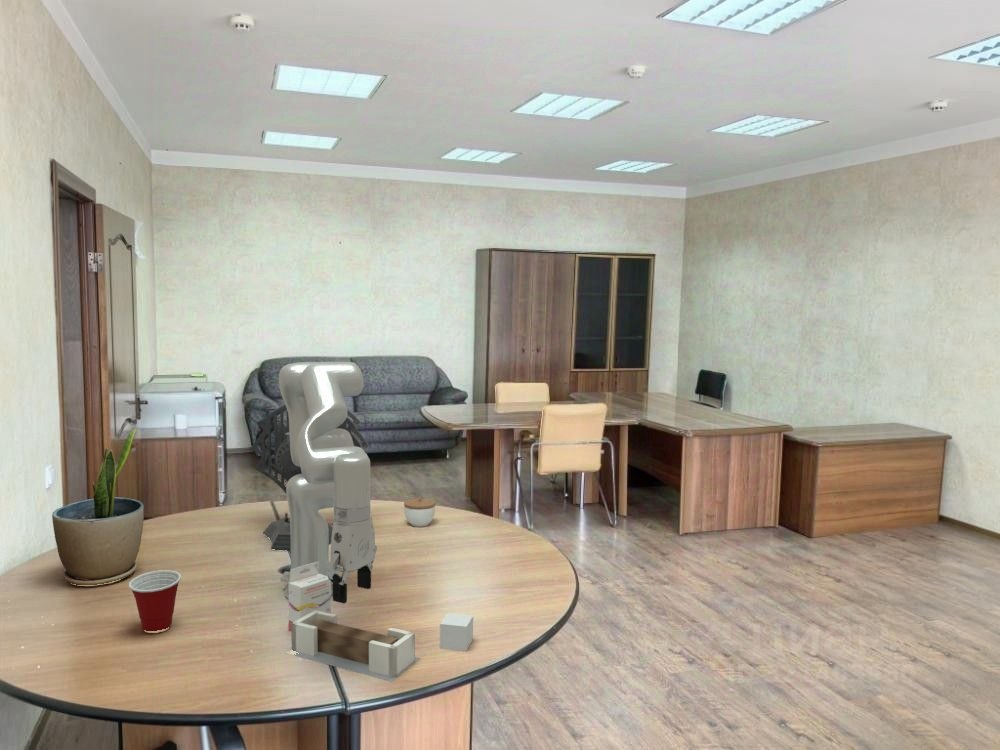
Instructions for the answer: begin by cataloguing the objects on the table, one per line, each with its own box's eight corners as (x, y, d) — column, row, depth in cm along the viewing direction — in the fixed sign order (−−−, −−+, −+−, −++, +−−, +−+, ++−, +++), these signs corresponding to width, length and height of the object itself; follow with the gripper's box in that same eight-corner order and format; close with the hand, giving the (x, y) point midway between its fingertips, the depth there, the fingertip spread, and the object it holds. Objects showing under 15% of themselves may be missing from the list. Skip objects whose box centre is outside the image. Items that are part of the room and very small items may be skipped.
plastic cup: (119, 637, 165) (117, 585, 164) (148, 617, 176) (147, 568, 175) (164, 641, 164) (163, 588, 163) (191, 621, 174) (190, 571, 173)
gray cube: (439, 650, 162) (439, 623, 161) (447, 638, 168) (447, 612, 167) (466, 653, 161) (466, 626, 160) (473, 641, 166) (473, 615, 166)
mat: (285, 654, 158) (285, 652, 158) (318, 634, 168) (318, 632, 168) (391, 683, 147) (391, 681, 147) (420, 659, 157) (420, 658, 157)
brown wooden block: (309, 649, 160) (308, 626, 160) (320, 641, 164) (320, 619, 163) (387, 669, 152) (387, 646, 151) (397, 661, 155) (397, 638, 155)
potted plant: (99, 597, 188) (94, 441, 184) (36, 585, 195) (29, 434, 191) (162, 569, 208) (158, 428, 204) (102, 560, 215) (98, 423, 211)
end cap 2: (414, 660, 156) (414, 633, 155) (393, 677, 149) (393, 648, 148) (390, 654, 158) (390, 627, 158) (368, 670, 151) (368, 642, 151)
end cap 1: (291, 650, 160) (291, 623, 159) (315, 635, 167) (315, 609, 166) (313, 656, 157) (313, 628, 157) (337, 641, 164) (337, 615, 164)
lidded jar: (424, 518, 263) (424, 492, 262) (441, 525, 254) (441, 498, 254) (398, 523, 256) (398, 496, 255) (415, 530, 247) (415, 503, 247)
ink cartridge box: (301, 638, 166) (300, 574, 165) (288, 632, 170) (287, 569, 168) (332, 626, 173) (331, 564, 172) (318, 620, 176) (318, 559, 175)
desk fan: (330, 514, 265) (330, 389, 261) (382, 536, 241) (382, 398, 237) (239, 532, 243) (237, 395, 238) (286, 558, 218) (285, 407, 214)
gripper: (341, 526, 145) (341, 613, 147) (390, 505, 161) (390, 584, 163) (310, 521, 149) (311, 606, 150) (361, 501, 164) (362, 578, 166)
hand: (352, 594), depth 157 cm, fingers open, 7 cm apart
